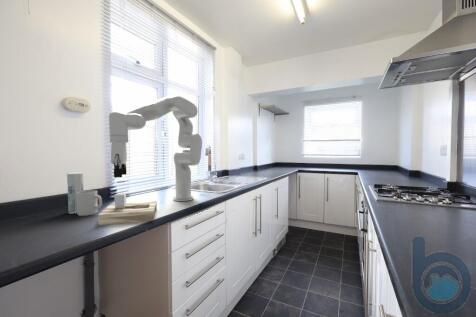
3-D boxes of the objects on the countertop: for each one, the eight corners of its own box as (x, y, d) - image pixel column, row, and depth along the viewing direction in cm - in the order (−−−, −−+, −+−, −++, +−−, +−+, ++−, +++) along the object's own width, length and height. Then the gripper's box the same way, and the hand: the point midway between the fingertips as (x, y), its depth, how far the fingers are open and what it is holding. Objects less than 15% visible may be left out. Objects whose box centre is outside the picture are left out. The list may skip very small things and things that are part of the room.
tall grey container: (66, 212, 109) (64, 173, 109) (81, 209, 115) (79, 172, 114) (71, 214, 106) (70, 174, 105) (86, 211, 111) (85, 172, 110)
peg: (115, 216, 104) (115, 193, 103) (128, 215, 106) (128, 192, 105) (112, 219, 99) (112, 196, 98) (126, 218, 100) (125, 195, 100)
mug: (72, 215, 105) (72, 193, 104) (87, 210, 113) (86, 189, 112) (94, 216, 103) (94, 193, 102) (108, 211, 111) (107, 190, 111)
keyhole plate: (110, 213, 109) (109, 204, 108) (156, 209, 115) (156, 201, 115) (98, 225, 92) (98, 214, 91) (153, 220, 98) (153, 210, 98)
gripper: (114, 139, 108) (116, 173, 109) (104, 138, 91) (106, 179, 92) (131, 139, 110) (132, 173, 111) (124, 139, 93) (125, 178, 94)
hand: (120, 175), depth 101 cm, fingers open, 9 cm apart
